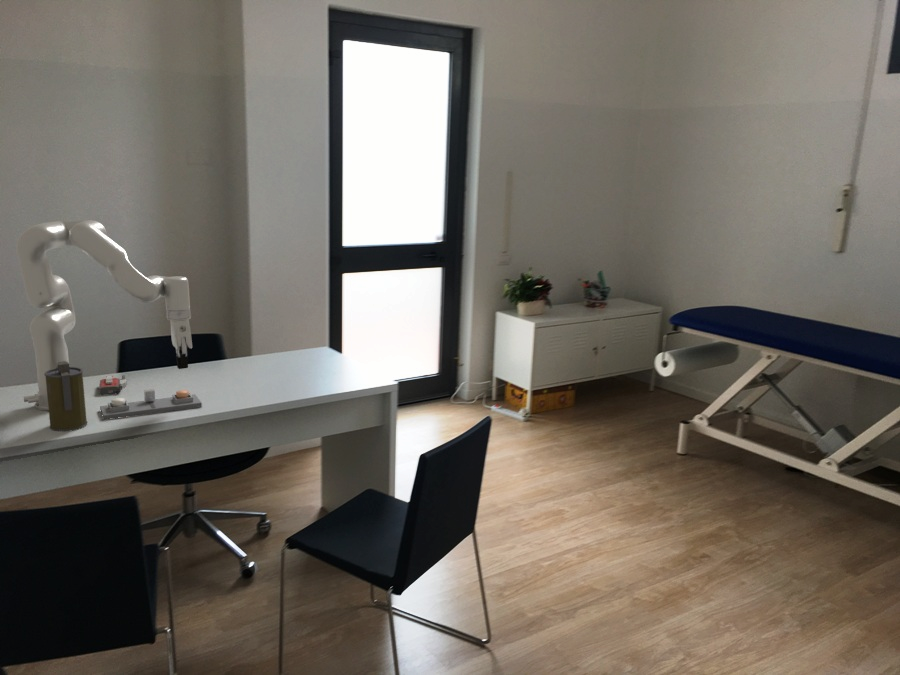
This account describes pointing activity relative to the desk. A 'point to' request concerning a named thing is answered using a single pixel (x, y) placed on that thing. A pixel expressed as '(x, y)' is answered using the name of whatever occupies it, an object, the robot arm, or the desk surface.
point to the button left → (118, 402)
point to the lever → (149, 395)
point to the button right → (182, 394)
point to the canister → (66, 397)
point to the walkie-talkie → (112, 385)
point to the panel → (150, 406)
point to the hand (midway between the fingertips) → (182, 367)
